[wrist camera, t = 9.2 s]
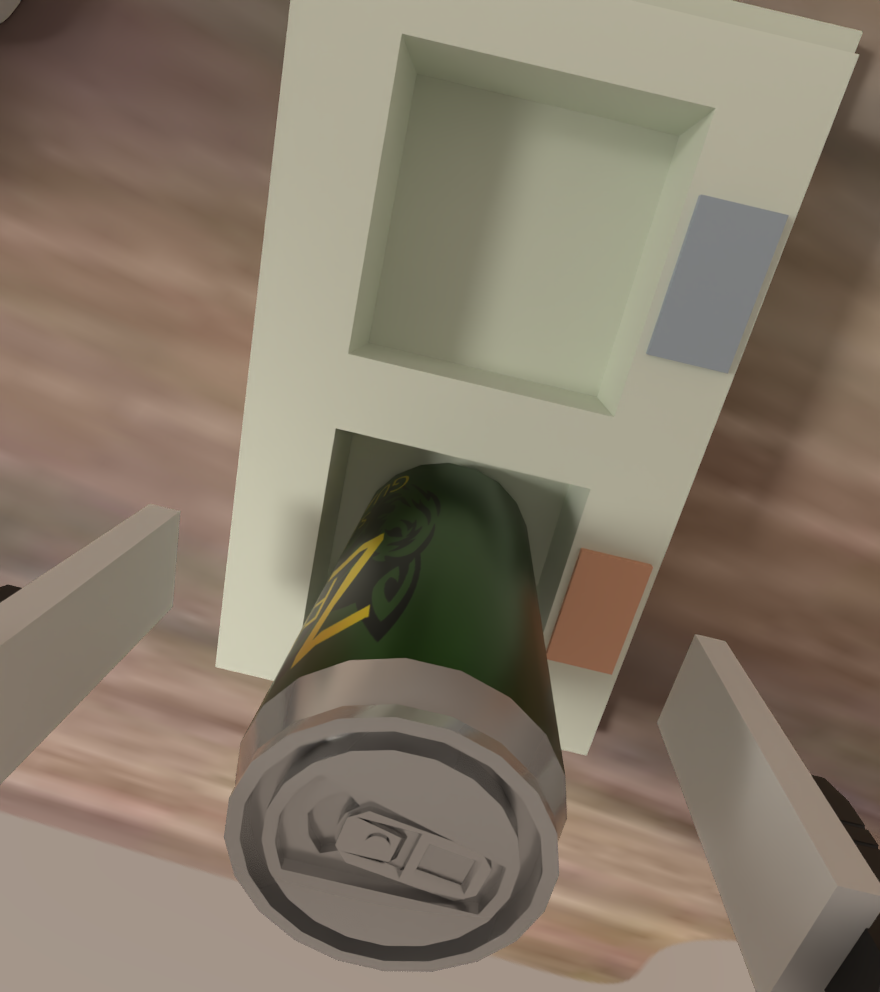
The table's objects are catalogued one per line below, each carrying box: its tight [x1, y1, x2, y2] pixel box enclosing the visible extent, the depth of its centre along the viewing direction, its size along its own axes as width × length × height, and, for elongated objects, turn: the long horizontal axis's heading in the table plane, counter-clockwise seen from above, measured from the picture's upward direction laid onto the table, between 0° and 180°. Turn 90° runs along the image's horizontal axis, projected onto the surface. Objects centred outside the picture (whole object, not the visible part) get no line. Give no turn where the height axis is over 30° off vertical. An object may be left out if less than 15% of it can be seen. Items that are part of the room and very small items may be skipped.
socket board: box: [215, 0, 863, 756], centre depth 18 cm, size 14×22×4 cm, turn 167°
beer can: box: [224, 463, 567, 972], centre depth 15 cm, size 5×5×12 cm
